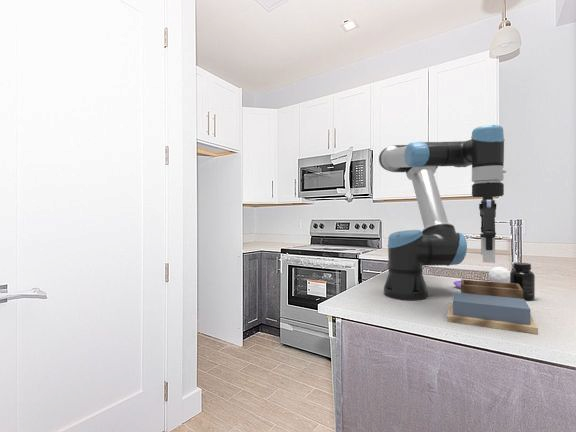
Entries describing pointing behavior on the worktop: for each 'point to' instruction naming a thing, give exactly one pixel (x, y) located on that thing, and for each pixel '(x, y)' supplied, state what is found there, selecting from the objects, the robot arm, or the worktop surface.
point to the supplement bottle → (524, 279)
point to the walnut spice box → (491, 288)
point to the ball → (499, 275)
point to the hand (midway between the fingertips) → (487, 258)
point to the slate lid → (491, 308)
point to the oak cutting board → (492, 323)
